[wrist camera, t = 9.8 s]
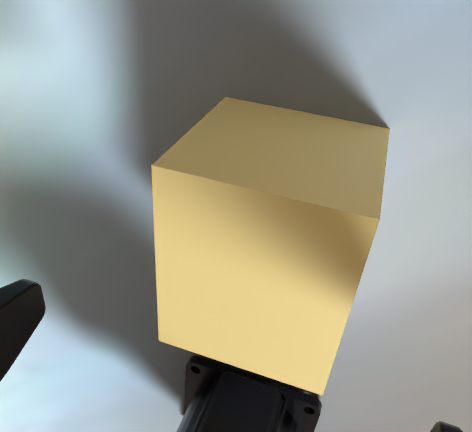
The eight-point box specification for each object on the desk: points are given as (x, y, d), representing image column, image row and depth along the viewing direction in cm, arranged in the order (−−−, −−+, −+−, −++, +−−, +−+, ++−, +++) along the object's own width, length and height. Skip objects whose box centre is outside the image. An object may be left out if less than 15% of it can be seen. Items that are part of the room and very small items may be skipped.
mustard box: (344, 279, 16) (322, 395, 12) (217, 244, 17) (158, 340, 13) (389, 127, 13) (379, 219, 9) (226, 95, 14) (151, 165, 10)
